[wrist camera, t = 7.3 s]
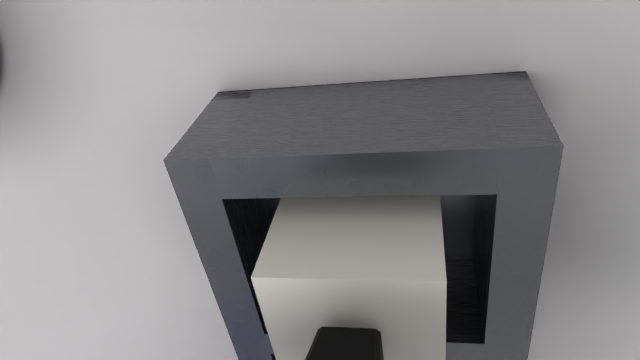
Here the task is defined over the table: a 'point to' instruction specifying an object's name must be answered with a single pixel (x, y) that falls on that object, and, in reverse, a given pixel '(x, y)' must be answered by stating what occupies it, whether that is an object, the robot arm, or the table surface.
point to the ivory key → (355, 273)
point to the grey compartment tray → (382, 189)
